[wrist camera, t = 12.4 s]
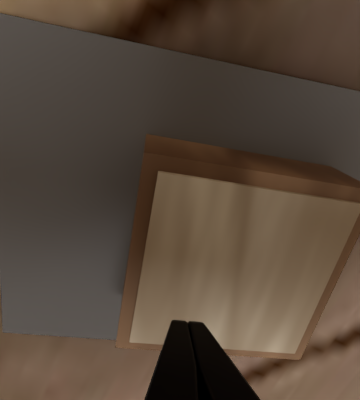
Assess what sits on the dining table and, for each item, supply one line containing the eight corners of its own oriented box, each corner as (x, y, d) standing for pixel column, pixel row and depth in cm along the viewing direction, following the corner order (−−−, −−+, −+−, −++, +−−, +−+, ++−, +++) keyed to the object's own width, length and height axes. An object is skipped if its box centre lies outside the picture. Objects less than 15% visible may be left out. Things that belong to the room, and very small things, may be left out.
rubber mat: (8, 323, 15) (2, 332, 15) (-4, 13, 10) (-13, 10, 10) (293, 343, 18) (297, 352, 17) (401, 101, 13) (412, 102, 12)
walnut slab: (114, 350, 12) (301, 362, 13) (144, 153, 9) (382, 193, 10) (122, 295, 14) (274, 309, 16) (146, 133, 12) (330, 166, 13)
